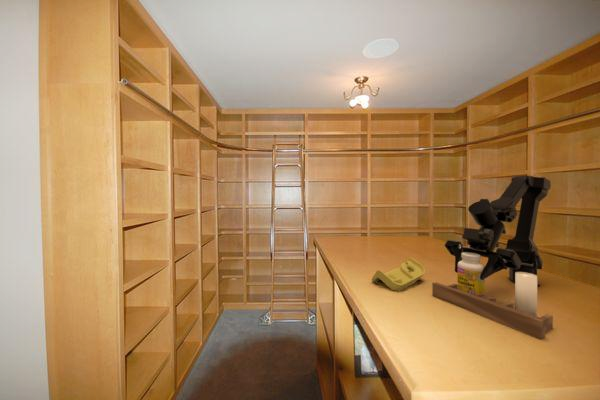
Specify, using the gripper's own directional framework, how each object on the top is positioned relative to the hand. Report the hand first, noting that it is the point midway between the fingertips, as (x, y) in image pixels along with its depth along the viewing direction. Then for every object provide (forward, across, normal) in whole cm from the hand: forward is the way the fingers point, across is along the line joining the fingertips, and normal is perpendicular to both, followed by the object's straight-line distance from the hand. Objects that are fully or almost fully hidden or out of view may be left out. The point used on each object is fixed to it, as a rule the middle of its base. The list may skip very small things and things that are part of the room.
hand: (468, 275), depth 70 cm
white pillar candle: (+5, +13, +6) cm, 15 cm away
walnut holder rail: (+7, +5, +5) cm, 10 cm away
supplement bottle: (+4, 0, +6) cm, 7 cm away
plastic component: (+9, -20, +3) cm, 23 cm away
